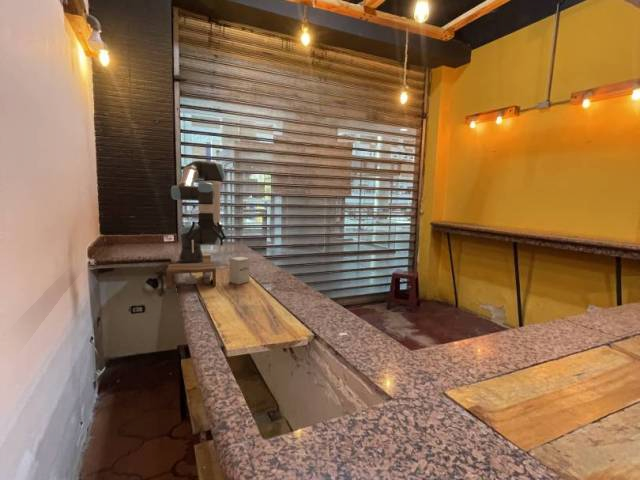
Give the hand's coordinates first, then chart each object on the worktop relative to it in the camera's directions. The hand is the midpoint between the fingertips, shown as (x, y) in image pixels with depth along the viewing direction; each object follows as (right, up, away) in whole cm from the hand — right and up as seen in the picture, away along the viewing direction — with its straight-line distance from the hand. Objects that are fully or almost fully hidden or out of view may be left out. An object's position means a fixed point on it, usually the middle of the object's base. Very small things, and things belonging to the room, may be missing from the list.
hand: (206, 252), depth 178 cm
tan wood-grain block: (+2, -14, -4) cm, 15 cm away
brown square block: (-5, -15, -10) cm, 19 cm away
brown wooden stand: (-3, -16, -12) cm, 20 cm away
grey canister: (+19, -16, -5) cm, 25 cm away
